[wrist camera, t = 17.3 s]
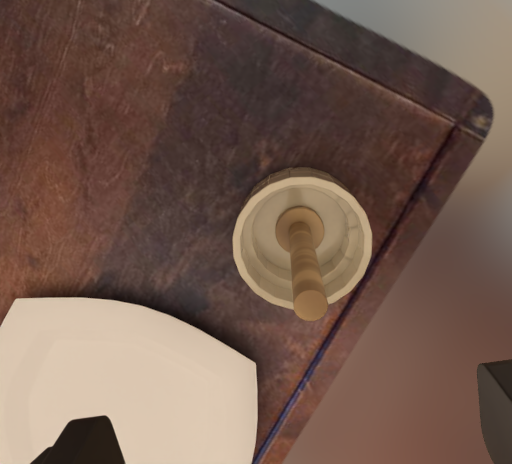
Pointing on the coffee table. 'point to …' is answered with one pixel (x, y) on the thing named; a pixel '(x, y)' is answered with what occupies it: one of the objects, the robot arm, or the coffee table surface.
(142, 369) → the plate
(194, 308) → the coffee table surface
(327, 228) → the bowl
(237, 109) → the coffee table surface
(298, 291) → the tan tall turned piece
